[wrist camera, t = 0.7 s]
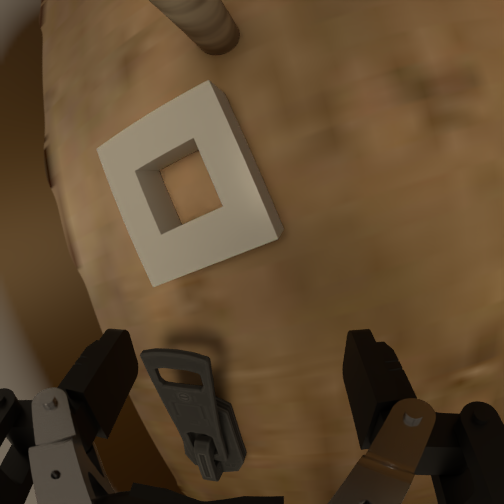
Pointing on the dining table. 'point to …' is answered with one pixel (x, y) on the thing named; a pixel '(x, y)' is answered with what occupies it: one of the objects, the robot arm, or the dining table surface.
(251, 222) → the well block
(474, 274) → the dining table surface
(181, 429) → the zipper pull
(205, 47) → the beech dowel
